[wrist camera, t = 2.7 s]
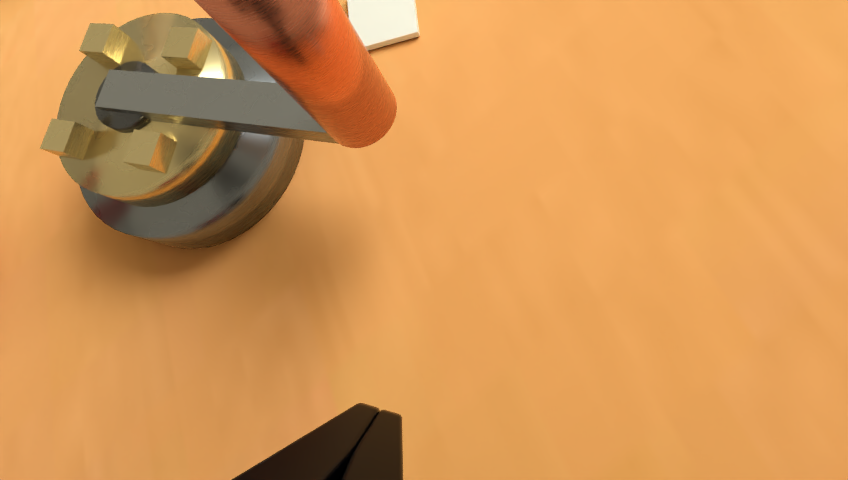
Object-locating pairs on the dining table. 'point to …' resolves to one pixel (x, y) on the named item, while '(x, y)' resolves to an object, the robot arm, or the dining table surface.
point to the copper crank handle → (212, 95)
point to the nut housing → (215, 183)
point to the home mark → (383, 21)
